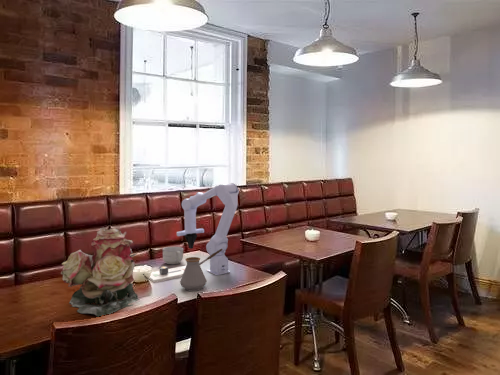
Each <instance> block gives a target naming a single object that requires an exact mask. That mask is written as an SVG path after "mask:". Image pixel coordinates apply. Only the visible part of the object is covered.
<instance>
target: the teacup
mask: <svg viewBox="0 0 500 375" xmlns="http://www.w3.org/2000/svg"><path fill="white" fill-rule="evenodd" d="M183 259H184V248H183V247H182V246H166V247H163V248H162V260H163V261H164V262H165V263H166V264H168V265H179V264H180V263H181V262H182V261H183Z"/></svg>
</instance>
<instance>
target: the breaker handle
mask: <svg viewBox="0 0 500 375" xmlns="http://www.w3.org/2000/svg"><path fill="white" fill-rule="evenodd" d="M168 269H169V267H168V266H161V267H159V271H160V274H162V275H163V274H168Z"/></svg>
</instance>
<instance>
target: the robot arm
mask: <svg viewBox="0 0 500 375" xmlns="http://www.w3.org/2000/svg"><path fill="white" fill-rule="evenodd" d="M239 193H240V190H239V188H238V186H237V185H236V183H234V182H231V183H224V184H218V185H215V186H214V187H212V188H210V189H208V190H207V191H205V192H199V191H198V192H196V194H195V195H191V196H189V198H184V199H183V200H182V201H181V208H182V209H183V211H184V213H183V214H184V215H183V217H184V230H180V231H176V236H177V237H182V236H184V238H185V240H186V243H187V246H188V249H191V250H192V249H194V247H195V246H194V245H195V241H196V239H197V237H198V234H204V233H205V229H204V228H197V209H198V207H200V206H202V205H204V204H206V203H207V200H209V199H211V198H213V197H215V196H217V197H218V198H219V201H220V202H222V204H223V205H224V209H223V211H222V213H221V217H220V219H219V223H218V225H217V228H216V230H215V233H214V235H212V236H211V238H210V240H209V241H208V242H207V243H206V246H205V248H206V251H207V253H208V255H209V256H210V255H212V254H213V253H215V252H217V251H219V250H220V249H222V251H220V252H219V253H217V254H216V255H215V256H214V257H212V258H210V259H209V269H206V271H207V272H208V273H210V274H213V275H215V276H220V275H224V274H228V273H231V271H230V270H229V258H228V257H227V256H226V255H225V253H226V250H227V249H228V241H229V239H228V237H227V236H228V233H229V230H230V228H231V225H232V222H233V219H234V217H235V213H236V211H237V209H238V205H239V203H238V200H239V199H238V196H239ZM223 250H224V251H223ZM223 252H224V253H223Z"/></svg>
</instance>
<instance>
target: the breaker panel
mask: <svg viewBox="0 0 500 375" xmlns="http://www.w3.org/2000/svg"><path fill="white" fill-rule="evenodd" d="M185 268H186V265H183V266H177V267H176V266H175V267H172V268H168V274H163V275H162V274H160V270H156V271H152V273H151V276H150V280H149V281H151V282H152V283H159V282H163V281H168V280H172V279H179V278H182V276H183V273H184V270H185Z"/></svg>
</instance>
